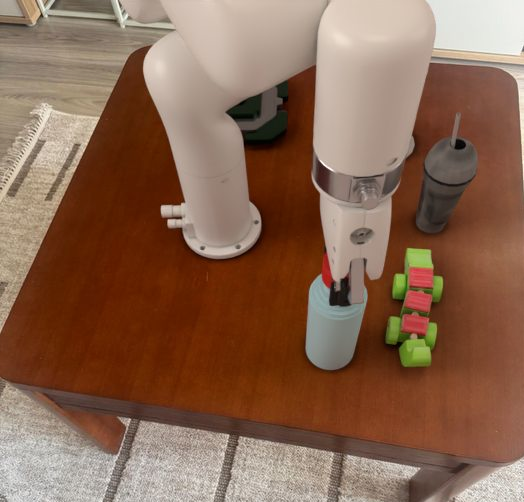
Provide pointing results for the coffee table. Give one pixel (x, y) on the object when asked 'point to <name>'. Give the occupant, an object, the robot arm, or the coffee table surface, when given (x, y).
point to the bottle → (331, 328)
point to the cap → (327, 272)
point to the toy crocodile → (415, 309)
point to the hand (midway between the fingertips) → (339, 284)
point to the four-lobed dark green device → (262, 116)
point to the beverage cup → (445, 180)
